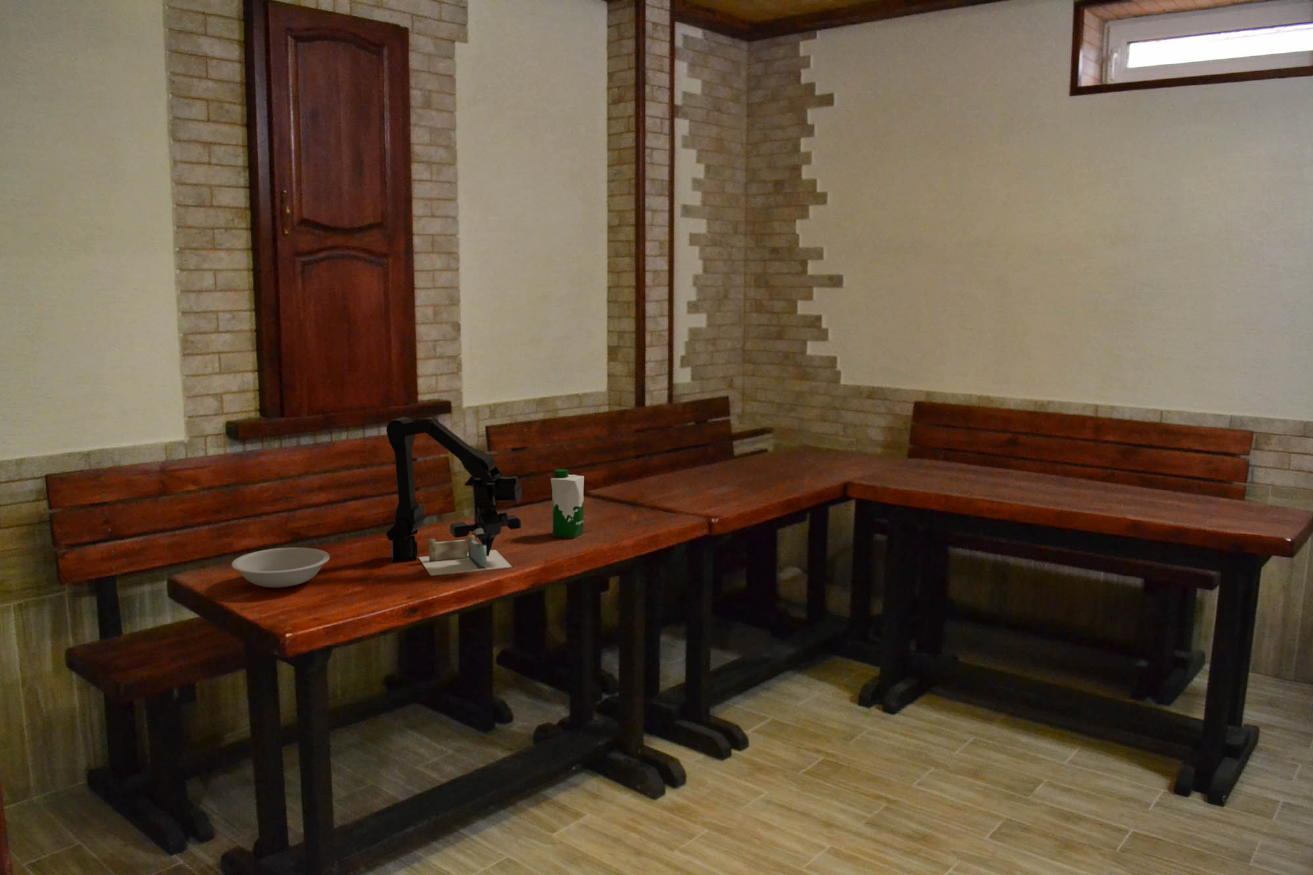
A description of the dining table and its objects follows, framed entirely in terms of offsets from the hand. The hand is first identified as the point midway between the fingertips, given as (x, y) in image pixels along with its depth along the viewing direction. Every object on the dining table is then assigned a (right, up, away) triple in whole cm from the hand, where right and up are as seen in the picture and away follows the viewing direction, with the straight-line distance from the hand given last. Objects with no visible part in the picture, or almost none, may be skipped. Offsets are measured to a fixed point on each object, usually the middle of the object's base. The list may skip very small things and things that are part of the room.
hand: (487, 556), depth 307 cm
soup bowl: (-50, -5, -19) cm, 54 cm away
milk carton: (+20, +3, +32) cm, 38 cm away
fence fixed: (-10, -1, +4) cm, 11 cm away
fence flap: (-2, -2, 0) cm, 3 cm away
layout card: (-7, -2, +1) cm, 7 cm away
